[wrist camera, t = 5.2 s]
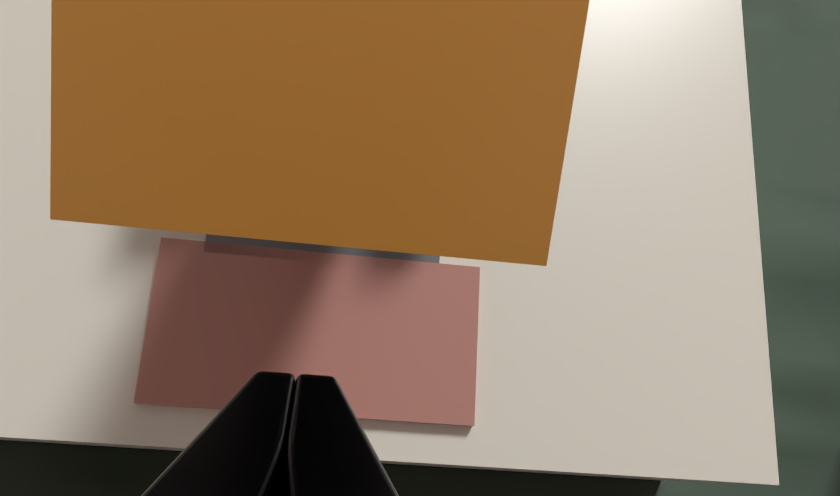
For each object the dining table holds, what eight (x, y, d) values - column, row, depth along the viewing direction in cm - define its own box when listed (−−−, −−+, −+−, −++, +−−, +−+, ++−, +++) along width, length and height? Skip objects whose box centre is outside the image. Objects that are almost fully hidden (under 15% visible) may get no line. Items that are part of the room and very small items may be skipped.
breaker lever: (416, 132, 15) (546, 265, 5) (256, 114, 15) (50, 219, 5) (429, 10, 15) (607, -118, 4) (265, -11, 14) (54, -205, 4)
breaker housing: (662, 480, 19) (873, 489, 12) (-92, 434, 17) (-388, 410, 10) (645, 6, 23) (794, -200, 16) (35, -77, 21) (-108, -358, 14)
